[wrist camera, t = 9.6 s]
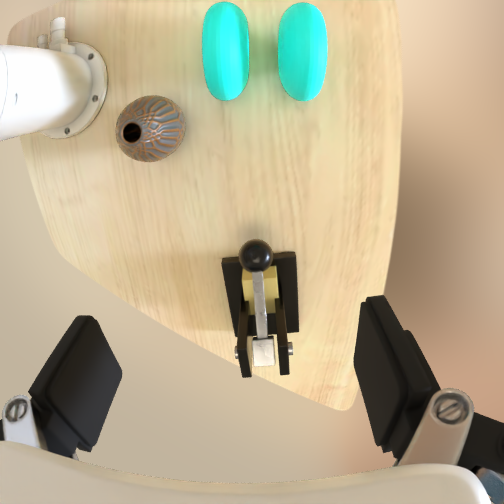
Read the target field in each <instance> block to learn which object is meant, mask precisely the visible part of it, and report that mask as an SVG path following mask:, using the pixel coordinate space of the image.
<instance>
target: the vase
mask: <svg viewBox="0 0 504 504" xmlns="http://www.w3.org/2000/svg"><path fill="white" fill-rule="evenodd" d="M184 134H185V119H184V115H183V113H182V111H181V110H180V108H179V107H178V106H177V105H176V104H175V103H174V102H173V101H171V100H169V99H167V98H165V97H161V96H145V97H141V98H139V99H137V100H135V101H133V102H132V103H130V104H129V105H128V106H127V107H126V108H125V109H124V110H123V111H122V113H121V114H120V116H119V118H118V121H117V124H116V139H117V142H118V144H119V146H120V148H121V149H122V151H123V152H124V153H125V154H126V155H128V156H129V157H131V158H132V159H135V160H138V161H142V162H154V161H158V160H161V159H163V158H166V157H167V156H169V155H170V154H172V153H173V152H174V151H175V150H176V149H177V148H178V146H179V145H180V144H181V142H182V140H183V137H184Z"/></svg>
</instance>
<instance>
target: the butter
mask: <svg viewBox="0 0 504 504" xmlns="http://www.w3.org/2000/svg"><path fill="white" fill-rule="evenodd" d="M263 280H264V292H265V303H266V314H267V313H275V298H279V296H278V284H277V273H276V266H270V267H269V268H268V269H267V270H266V271H264V272H263ZM242 286H243V292H244V299H245V301H249V304H250V311H251V315H254V314H255V305H254V293H253V281H252V273H250V272H248V271H246V270H245V269H243V273H242Z"/></svg>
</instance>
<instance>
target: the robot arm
mask: <svg viewBox="0 0 504 504" xmlns="http://www.w3.org/2000/svg"><path fill="white" fill-rule="evenodd" d="M50 34H51V42H50V43H49V49H48V48H47V44H48V35H47V34H44V35H41V36H39V37H38V48H34V47H25V46H16V45H3V44H0V141H3V140H6V139H10V138H14V137H17V136H21V135H25V134H29V133H34V132H38V131H40V132H41V133H42V134H44V135H45V136H47V137H50V138H55V139H62V138H67V137H71V136H74V135H76V134H78V133H80V132H81V131H83V130H84V129H85V128H86V127H88V126H89V124H90V123H91V122H92V121H93V120H94V119H95V117H96V115H97V114H98V112H99V111H100V108H101V106H102V104H103V102H104V98H105V95H106V90H107V71H106V66H105V63H104V61H103V58H102V57H101V55H100V54H99V53H98V51H97V50H95V49H94V48H93V47H92V46H89V45H87V44H84V43H80V42H69V43H68V39H67V38H65V18H64V17H59V18H55V19H53V20H52V21H51V22H50ZM93 56H94V57H93ZM97 98H98V100H97ZM354 368H355V372H356V375H357V378H358V382H359V385H360V389H361V392H362V396H363V399H364V403H365V406H366V409H367V413H368V417H369V421H370V424H371V428H372V432H373V436H374V439H375V443H376V445H377V446H381V447H382V450H383V453H386V452H390V451H392V452H393V455H394V457H395V458H396V461H395V463H394V465H393V467H389V468H384V469H379V470H373V471H367V472H361V473H355V474H350V475H343V476H336V477H329V478H322V479H313V480H301V481H290V482H276V483H211V482H196V481H184V480H175V479H166V478H159V477H152V476H145V475H139V474H134V473H128V472H123V471H118V470H114V469H109V468H104V467H101V466H96V465H93V464H89V463H85V462H81V461H79V460H78V457H77V454H76V452H75V450H76V448H78V449H80V450H83V451H87V452H91V450H92V447H93V446H94V445H95V444H96V443H97V441H98V438H99V435H100V432H101V430H102V427H103V424H104V422H105V419H106V416H107V414H108V411H109V408H110V406H111V403H112V401H113V398H114V396H115V393H116V391H117V388H118V386H119V383H120V381H121V378H122V370H121V367H120V366H119V363H118V362H117V360H116V358H115V356H114V354H113V352H112V350H111V348H110V346H109V344H108V342H107V340H106V338H105V336H104V334H103V332H102V330H101V328H100V325H99V323H98V321H97V320H95V319H94V318H93V317H92V316H82V315H81V316H77V317H76V318H75V319H74V321H73V322H72V324H71V325H70V327H69V328H68V330H67V331H66V333H65V334H64V336H63V337H62V339H61V340H60V341H59V343H58V344H57V346H56V348H55V349H54V351H53V352H52V354H51V355H50V357H49V358H48V360H47V361H46V363H45V365H44V366H43V368H42V369H41V371H40V373H39V374H38V376H37V378H36V379H35V381H34V383H33V384H32V386H31V388H30V389H29V391H28V392H29V394H30V395H31V396H32V398H31V400H30V399H29V398H28V397H27V396H24V395H17V396H14V397H13V398H11V399H10V400H9V401H8V402H7V403H6V404H5V406H4V408H3V411H2V419H1V420H0V504H491V502H493V503H494V504H504V423H502V422H499V421H496V420H494V419H491V418H488V417H485V416H483V415H480V414H478V413H475V412H474V406H473V402H472V400H471V399H470V397H469V396H468V395H467V394H466V393H465V392H463V391H460V390H459V389H454V388H447V389H443V390H441V389H440V387H439V384H438V383H437V381H436V378H435V377H434V374H433V373H432V371H431V368H430V366H429V365H428V363H427V361H426V359H425V357H424V355H423V353H422V351H421V349H420V347H419V346H418V344H417V342H416V340H415V338H414V336H413V335H412V333H411V332H410V331H409V330H403V328H402V326H401V325H400V323H399V321H398V319H397V317H396V316H395V314H394V312H393V310H392V308H391V306H390V305H389V303H388V301H387V299H386V298H385V296H384V295H380V296H372V297H367V298H366V302H362V303H361V307H360V315H359V324H358V332H357V339H356V346H355V353H354ZM487 494H488V495H489V496H490V497H491V498H490V499H489V497H488V495H487Z"/></svg>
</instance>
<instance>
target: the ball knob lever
mask: <svg viewBox="0 0 504 504" xmlns="http://www.w3.org/2000/svg"><path fill="white" fill-rule="evenodd" d="M239 261H240V264H241V266H242V267H243V268H244V269H245V270H246V271H248V272H250V273H252V281H253V293H254V305H255V316H256V328H257V337H253V339H252V351H253V363H254V367H257V366H272V365H275V348H274V336H268V328H267V315H266V303H265V292H264V280H263V272H264V271H266V270H267V269H268V268H269V267H270V266H271V264H272V261H273V252H272V249H271V247H270V246H269V245H268V244H267V243H266V242H265V241H263V240H259V239H253V240H249V241H247V242H246V243H245V244H244V245H243V246H242V247H241V249H240V252H239Z"/></svg>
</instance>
